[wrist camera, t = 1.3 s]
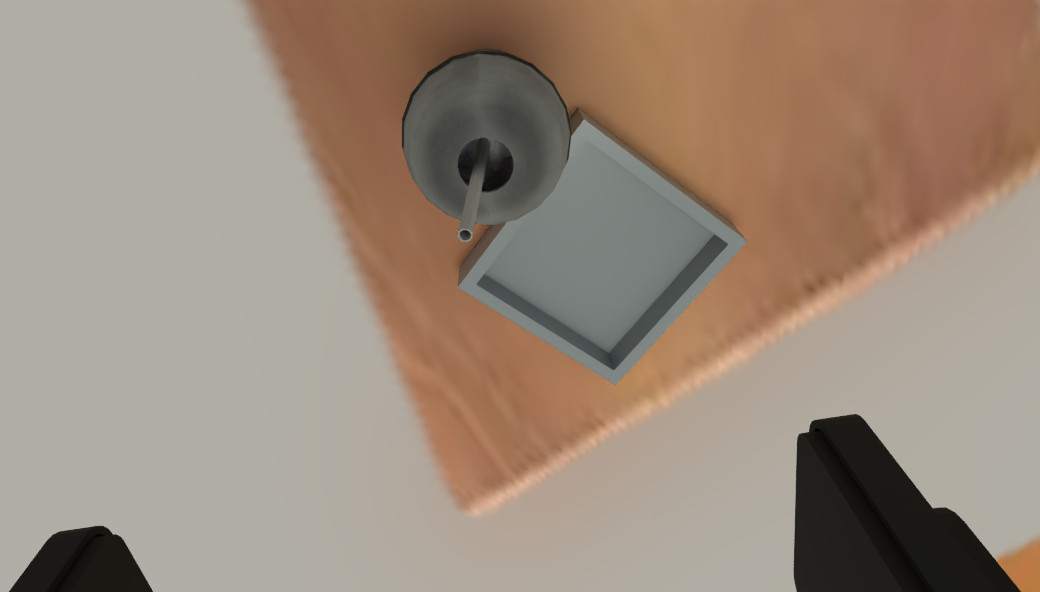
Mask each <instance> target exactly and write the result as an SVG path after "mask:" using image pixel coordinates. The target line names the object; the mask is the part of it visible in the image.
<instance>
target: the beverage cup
mask: <svg viewBox="0 0 1040 592" xmlns="http://www.w3.org/2000/svg"><path fill="white" fill-rule="evenodd" d="M571 135H572V132H571V127H570V122H569V117H568V112H567V107H566V105H565V103H564V101H563V99H562V98H561V96H560V94H559V92H558V91H557V89H556V87H555V85H554V83H553V82H552V81H551V80H550V79H548V78H547V77H546V76H545V75H544V74H543V73H542V72H541V71H540V70H539V69H537V68H536V67H535V66H534V65H533V64H531V63H529V62H527V61H525V60H522V59H520V58H518V57H515V56H513V55H511V54H509V53H505V52H502V51H499V50H490V49H482V50H478V51H473V52H469V53H465V54H461V55H457V56H453V57H451V58H449V59H448V60H446V61H444V62H443V63H441V64H440V65H438V66H437V67H435V68H434V69H432V70H431V71H429V72H428V73H427V74H426V75H425V77H424V78H423V79H422V81H421V82H420V83H419V84H418V86H417V87H416V88H415V89H414V91H413V92H412V93H411V96H410V99H409V101H408V104H407V107H406V110H405V113H404V116H403V119H402V148H403V151H404V154H405V157H406V161H407V164H408V167H409V170H410V173H411V176H412V178H413V180H414V181H415V183H416V184H417V186H418V187H419V189H420V190H421V191H422V193H423V194H424V196H425V197H426V199H427V200H428V201H430V202H431V203H432V204H434V205H435V206H436V207H437V208H439V209H440V210H441V211H443V212H444V213H445V214H446V215H449V216H452V217H454V218H457V219H459V220H461V222H460V227H459V231H458V238H459V239H460V240H461V241H464V242H468V241H470V240H471V239H472V236H473V231H474V226H475V224H486V225H496V224H500V223H504V222H509V221H513V220H517V219H519V218H521V217H522V216H524V215H526V214H528V213H529V212H531V211H533V210H534V209H536V208H538V207H539V206H540V205H541V203H542V202H543V201H544V200H545V199H546V198H547V197H548V196H549V195H550V194H551V193H552V191H553V190H554V189H555V187H556V185H557V183H558V181H559V179H560V177H561V174H562V172H563V170H564V168H565V166H566V164H567V161H568V159H569V151H570V143H571Z"/></svg>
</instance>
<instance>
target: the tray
mask: <svg viewBox="0 0 1040 592" xmlns="http://www.w3.org/2000/svg"><path fill="white" fill-rule="evenodd" d="M569 122H570V127H571V132H572V135H571V143H570V151H569V159H568V161H567V164H566V166H565V168H564V170H563V172H562V174H561V177H560V179H559V181H558V183H557V185H556V187H555V189H554V190H553V191H552V193H551V194H550V195H549V196H548V197H547V198H546V199H545V200H544V201H543V202H542V203H541V205H540V206H539V207H538V208H536V209H534V210H533V211H531V212H529V213H528V214H526V215H524V216H522V217H521V218H519V219H517V220H513V221H509V222H504V223H500V224H496V225H491V226H490V227H489V229H488V230H487V231H486V233H485V234H484V236H483V237H482V238H481V240H480V241H479V242H478V244H477V245H476V246H475V248H474V249H473V250H472V252H471V253H470V254H469V256H468V257H467V258H466V260H465V261H464V262H463V264H462V265H461V266H460V271H459V280H458V288H459V289H461V290H463V291H464V292H466V293H467V294H469V295H471V296H472V297H474V298H475V299H477V300H479V301H480V302H482V303H484V304H485V305H487V306H488V307H490V308H492V309H493V310H495V311H497V312H498V313H500V314H501V315H503V316H505V317H506V318H508V319H509V320H511V321H513V322H514V323H516V324H518V325H519V326H521V327H522V328H524V329H526V330H527V331H529V332H530V333H532V334H534V335H535V336H537V337H539V338H540V339H542V340H543V341H545V342H547V343H548V344H550V345H552V346H553V347H555V348H556V349H558V350H560V351H561V352H563V353H564V354H566V355H568V356H569V357H571V358H573V359H574V360H576V361H577V362H579V363H581V364H582V365H584V366H586V367H587V368H589V369H590V370H592V371H594V372H595V373H597V374H598V375H600V376H602V377H603V378H605V379H607V380H608V381H610V382H611V383H613V384H615V385H616V384H617V383H618V382H619V381H620V380H621V379H622V378H623V377H624V376H625V374H626V373H627V372H628V371H629V370H630V369H631V368H632V367H633V366H634V365H635V364H636V362H637V361H638V360H639V359H640V358H641V357H642V356H643V355H644V354H645V353H646V352H647V350H648V349H649V348H650V347H651V346H652V345H653V344H654V343H655V342H656V341H657V340H658V338H659V337H660V336H661V335H662V334H663V333H664V332H665V331H666V330H667V329H668V328H669V326H670V325H671V324H672V323H673V322H674V321H675V320H676V319H677V318H678V317H679V316H680V314H681V313H682V312H683V311H684V310H685V309H686V308H687V307H688V306H689V305H690V304H691V302H692V301H693V300H694V299H695V298H696V297H697V296H698V295H699V294H700V293H701V292H702V290H703V289H704V288H705V287H706V286H707V285H708V284H709V283H710V282H711V281H712V280H713V278H714V277H715V276H716V275H717V274H718V273H719V272H720V271H721V270H722V269H723V268H724V266H725V265H726V264H727V263H728V262H729V261H730V260H731V259H732V258H733V257H734V256H735V254H736V253H737V252H738V251H739V250H740V249H741V248H742V247H743V246H744V245H745V244H746V242H747V240H746V239H745V238H744V236H743V235H742V234H741V233H740V232H739V231H738V229H737V228H736V227H735V226H734V225H733V224H732V223H731V222H730V221H728V220H727V219H726V218H724V217H723V216H722V215H720V214H719V213H718V212H716V211H715V210H714V209H712V208H711V207H710V206H708V205H707V204H706V203H704V202H703V201H702V200H700V199H699V198H698V197H696V196H695V195H694V194H692V193H691V192H690V191H688V190H687V189H686V188H684V187H683V186H682V185H680V184H679V183H678V182H676V181H675V180H674V179H672V178H671V177H670V176H668V175H667V174H666V173H664V172H663V171H662V170H660V169H659V168H658V167H656V166H655V165H654V164H652V163H651V162H650V161H648V160H647V159H646V158H644V157H643V156H642V155H640V154H639V153H638V152H636V151H635V150H634V149H632V148H631V147H630V146H628V145H627V144H626V143H624V142H623V141H622V140H620V139H619V138H618V137H616V136H615V135H614V134H612V133H611V132H610V131H608V130H607V129H606V128H604V127H603V126H602V125H600V124H599V123H598V122H596V121H595V120H594V119H592V118H591V117H590V116H588V115H587V114H586V113H584V112H583V111H582V110H580V109H579V108H578V109H577V110H576V112H575V113H574V114H573V116H572V117H571V118H570V120H569Z"/></svg>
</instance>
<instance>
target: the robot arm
mask: <svg viewBox="0 0 1040 592" xmlns="http://www.w3.org/2000/svg"><path fill="white" fill-rule="evenodd" d="M795 506H796V507H795V543H794V544H795V545H794V580H795V585H796V589H797V592H1021V591H1020V590H1019V589H1018V587H1017V586H1016V585H1015V584H1014V583H1013V581H1012V580H1011V579H1010V578H1009V576H1008V575H1007V574H1006V573H1005V571H1004V570H1003V569H1002V568H1001V566H1000V565H999V564H998V563H997V562H996V560H995V559H994V558H993V557H992V555H991V554H990V553H989V552H988V550H987V549H986V548H985V547H984V546H983V544H982V543H981V542H980V541H979V539H978V538H977V537H976V536H975V534H974V533H973V532H972V531H971V529H970V528H969V527H968V526H967V524H966V523H965V522H964V521H963V520H962V519H961V518H960V517H959V516H958V515H957V514H956V513H955V512H953V511H951V510H949V509H948V508H932V507H931V506H930V504H929V503H928V502H927V501H926V499H925V498H924V497H923V495H922V494H921V493H920V491H919V490H918V489H917V488H916V486H915V485H914V484H913V482H912V481H911V480H910V479H909V477H908V476H907V475H906V473H905V472H904V471H903V469H902V468H901V467H900V466H899V464H898V463H897V462H896V460H895V459H894V458H893V456H892V455H891V454H890V453H889V451H888V450H887V449H886V447H885V446H884V445H883V444H882V442H881V441H880V440H879V438H878V437H877V436H876V434H875V433H874V432H873V431H872V429H871V428H870V427H869V426H868V424H867V423H866V421H865V420H864V419H863V418H862V417H861V416H859V415H857V414H853V415H847V416H840V417H833V418H826V419H819V420H814V421H812V423H811V424H810V429H809V432H808V433H802V434H799V436H798V439H797V466H796V505H795ZM9 592H153V591H152V589H151V587H150V585H149V584H148V582H147V580H146V579H145V577H144V575H143V573H142V572H141V570H140V568H139V566H138V565H137V563H136V561H135V559H134V558H133V556H132V554H131V552H130V551H129V549H128V547H127V545H126V544H125V542H124V540H123V539H122V538H121V537H120V536H118V535H113V534H112V533H111V531H110V530H109V529H108V528H106V527H104V526H94V527H88V528H81V529H74V530H67V531H60V532H58V533H56V534H54V535H52V536H51V537H50V538H49V539H48V540H47V541H46V543H45V544H44V545H43V547H42V548H41V550H40V551H39V552H38V554H37V555H36V556H35V558H34V559H33V561H32V562H31V563H30V564H29V566H28V567H27V568H26V570H25V571H24V572H23V574H22V575H21V576H20V578H19V579H18V580H17V582H16V583H15V584H14V586H13V587H12V588H11V590H10V591H9Z"/></svg>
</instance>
